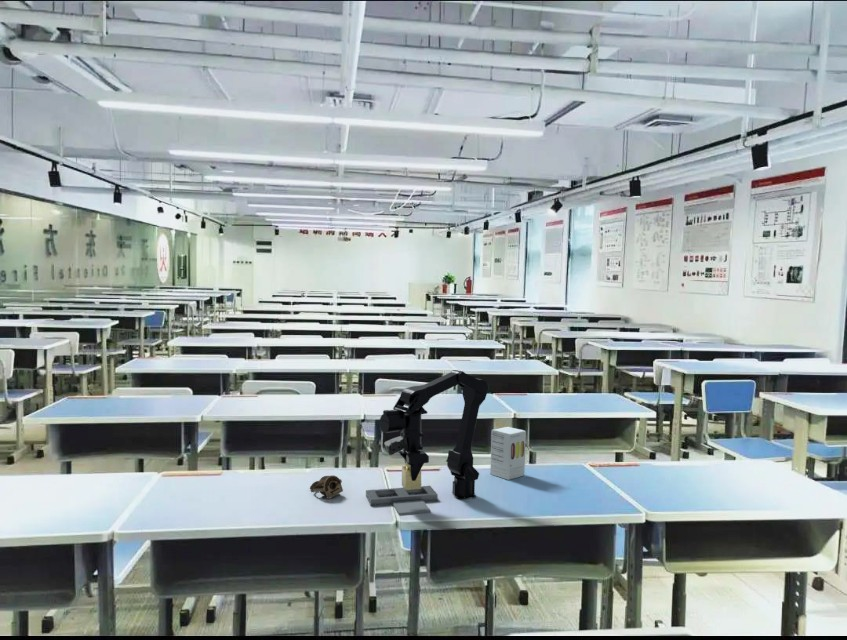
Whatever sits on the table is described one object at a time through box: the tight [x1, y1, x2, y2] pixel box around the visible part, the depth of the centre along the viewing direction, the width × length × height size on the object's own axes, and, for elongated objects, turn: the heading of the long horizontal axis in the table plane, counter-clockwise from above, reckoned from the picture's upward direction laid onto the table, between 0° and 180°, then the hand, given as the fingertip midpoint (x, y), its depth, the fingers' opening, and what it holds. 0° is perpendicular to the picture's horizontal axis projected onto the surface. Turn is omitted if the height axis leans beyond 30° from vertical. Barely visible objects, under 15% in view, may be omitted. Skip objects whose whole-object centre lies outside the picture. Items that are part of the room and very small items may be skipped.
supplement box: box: [489, 426, 527, 481], centre depth 232 cm, size 10×9×17 cm
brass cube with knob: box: [401, 462, 422, 490], centre depth 197 cm, size 5×5×8 cm
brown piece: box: [309, 475, 344, 500], centre depth 209 cm, size 7×13×10 cm
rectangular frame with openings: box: [365, 485, 439, 507], centre depth 206 cm, size 22×9×2 cm, turn 105°
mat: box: [391, 500, 432, 516], centre depth 197 cm, size 10×10×1 cm
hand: (411, 477), depth 197 cm, fingers closed on brass cube with knob, 5 cm apart
